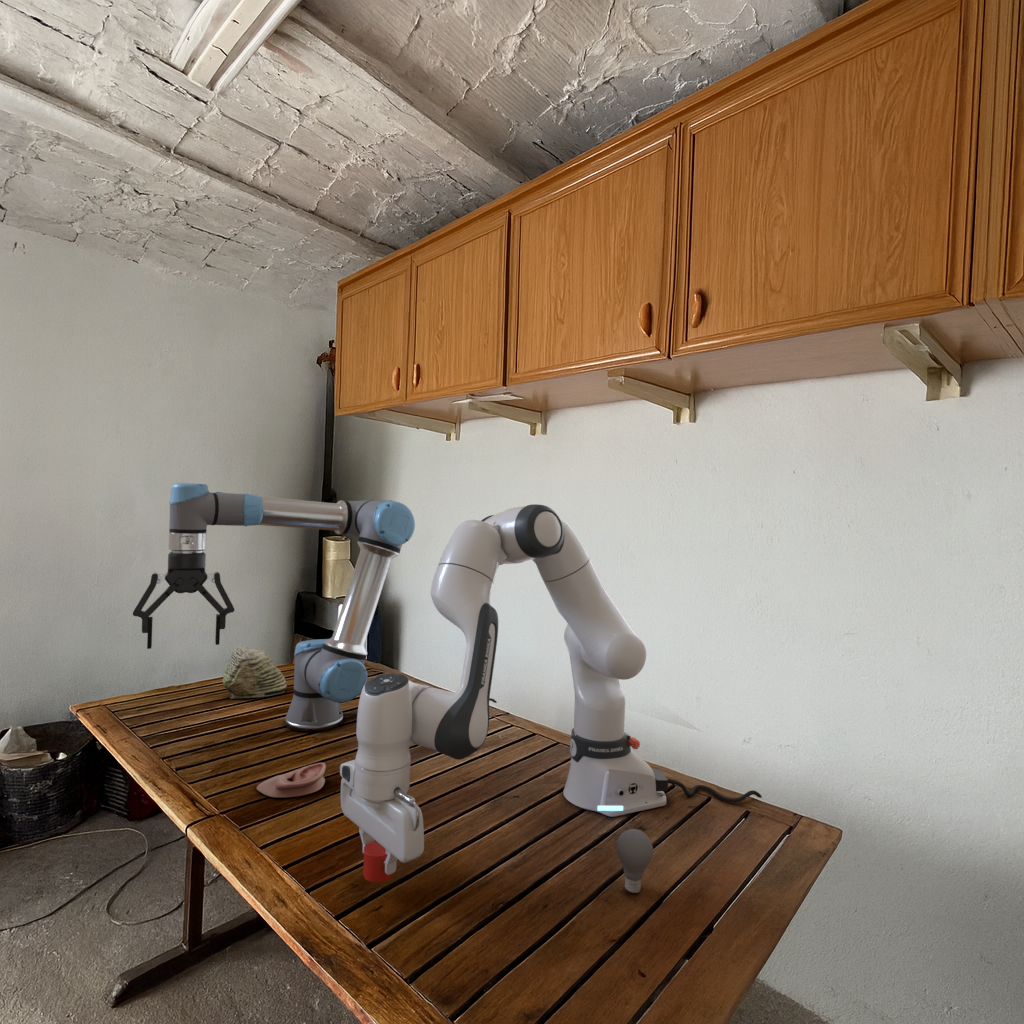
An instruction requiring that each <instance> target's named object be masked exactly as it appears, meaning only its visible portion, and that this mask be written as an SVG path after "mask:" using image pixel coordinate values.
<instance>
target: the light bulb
mask: <svg viewBox="0 0 1024 1024" xmlns="http://www.w3.org/2000/svg"><path fill="white" fill-rule="evenodd" d="M615 849H616V854H617V857H618V859H619V861H620V863H621V865H622V867H623V873H624V874H623V875H624V876H625V878H624V888H625V890H627V891H628V892H630V893H634V894H635V893H639V892H640V891H641V889H642V887H641V886H642V879H643V877H644V875H645V871H646V868H647V867H648V866H649V864H650V863H651V861H652V859H653V855H654V847H653V843H652V841H651V838H649V836H648V835H647V834H646V833H645V832H643V831H642V830H641V829H636V828H629V829H627V830H625V831H623V832H622V833H621V834H620V835H619V837H618V839H617V841H616V847H615Z"/></svg>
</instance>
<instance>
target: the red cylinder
mask: <svg viewBox="0 0 1024 1024" xmlns="http://www.w3.org/2000/svg"><path fill="white" fill-rule="evenodd" d="M387 855H388V854H386V849H385V848H384V847H383V846H381V845H380V844H379V843H378V842H377V841H375V840H374V841H373V842H371V843H369V844H367V845H366V846H365V848H364V854H363V867H362V868H363V871H362V874H363V875H362V876H363V878H364V879H365V881H367V882H369V883H370V882H371V883H382V882H385V881H387V880H389V879H391V878H392V877H393V875H394V873H392V874H389V875H387V874H386V873H385V872H384V871H383V870H382V860H385V859H386V858H387Z"/></svg>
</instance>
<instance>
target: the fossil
mask: <svg viewBox="0 0 1024 1024" xmlns="http://www.w3.org/2000/svg"><path fill="white" fill-rule="evenodd" d="M222 676H223V677H222V685H223V687H224V688H225V690H226V691H228V693H229V698H230V699H250V698H264V697H271V696H275V695H281V694H284V693H285V691H286V689H287V687H288V686H287V680H286V678H285V676H284V674H283V673H282V672H281V669H279V668H278V667H277V665H276V663H275V662H274V660H273V659H272V658H271V657H270V656H269V655H268V654H267V653H266V652H265V650H264V649H263V648H260V647H258V648H251V647H247V646H246V647H245V646H238V647H237V648H236V649H235V650H233V651H232V653H231V656H230V657H229V659H228V660H227V663H226V666H225V668H224V671H223V675H222Z"/></svg>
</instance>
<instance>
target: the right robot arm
mask: <svg viewBox="0 0 1024 1024" xmlns="http://www.w3.org/2000/svg"><path fill="white" fill-rule="evenodd" d="M583 545H584V544H583V543H582V542H581V540H580V538H579V537H578V535H577V534H576V532H575V531H574V530H573V528H572V527H571V525H569V523H568V522H566V521H564V520H563V519H561V518H560V516H559V515H558V513H557V512H556V511H555V510H554V509H552V507H549V506H547V505H544V504H533V503H532V504H527V505H525V506H518V507H512V508H508V509H505V510H504V511H501V512H498V513H496V514H492V515H488V516H486V517H484V518H482V519H481V520H479V519H469V520H465V521H463V522H461V523H459V524H458V525H457V527H456V528H455V530H454V531H453V533H452V535H451V536H450V537H449V540H448V542H447V544H446V546H445V548H444V550H443V552H442V554H441V557H440V560H439V562H438V565H437V568H436V569H435V573H434V575H433V578H432V583H431V586H430V597H431V601H432V603H433V605H434V607H435V608H436V610H437V611H438V613H439V614H440V615H441V617H443V618H445V619H446V620H447V621H449V622H450V623H451V624H452V625H454V626H456V627H457V628H458V629H459V630H461V632H462V633H463V635H464V637H465V642H466V648H465V653H464V661H463V667H462V673H461V678H460V684H459V688H458V690H457V691H455V692H453V691H448V690H444V689H440V688H436V687H433V686H430V685H426V684H421V683H417V682H413V681H411V680H410V679H409V678H408V676H407V675H404V674H402V673H396V672H387V673H381V674H378V675H376V676H373V677H371V678H370V679H367V682H366V683H365V685H364V687H363V689H362V692H361V693H360V696H359V701H358V707H357V712H356V713H357V716H356V730H355V731H356V732H355V733H356V740H357V751H356V755H355V759H352V760H349V761H346V762H343V763H341V764H340V765H339V774H340V777H341V780H340V808H341V812H342V814H343V816H344V817H346V818H348V820H350V821H351V822H352V823H354V825H356V826H357V827H358V832H359V836H360V840H361V843H362V851H361V852H362V854H363V855H364V848H365V846H366V845H367V844H369V843H371V842H373V841H377V842H378V843H379V844H380V845H381V846H383V847H384V848H385V849H386V854H388V855H387V858H386V859H385V860H382V870H383V871H384V872H385V873H386V874H387V875H389V874H392V873H393V874H394V873H395V872H396V871H397V865H398V864H397V862H398V861H400V862H401V863H402V864H407V863H409V862H412V861H415V860H416V859H419V858H420V857H421V856H422V855H423V853H424V851H425V827H424V817H423V812H422V809H421V808H420V807H419V805H417V803H416V799H415V798H414V797H413V796H412V795H409V794H408V791H409V790H410V786H411V763H412V762H411V761H412V756H411V751H410V747H411V746H413V745H416V746H420V747H424V748H427V749H430V750H434V751H436V752H438V753H440V754H442V755H445V756H447V757H449V758H452V759H454V760H456V761H457V760H458V761H460V760H464V759H466V758H468V757H470V756H471V755H473V754H474V753H476V752H477V751H478V750H479V749H481V747H482V746H483V745H484V744H485V742H486V740H487V737H488V734H489V727H490V701H489V698H491V690H492V682H493V675H494V670H495V669H494V668H495V662H496V661H495V660H496V652H497V645H498V637H499V615H498V612H497V610H496V609H495V607H494V606H493V605H492V592H493V586H494V584H495V579H496V575H497V573H498V568H499V566H501V565H514V564H515V565H516V564H521V563H524V562H527V561H531V560H532V561H533V562H534V564H535V566H536V568H537V571H538V573H539V575H540V577H541V579H542V581H543V584H544V586H545V587H546V589H547V592H548V594H549V595H550V598H551V600H552V601H553V604H554V606H555V608H556V611H557V612H558V614H559V615H560V616H562V618H563V619H564V620H565V622H566V626H565V628H564V634H563V640H564V643H565V646H566V648H567V651H568V656H569V663H570V669H571V670H570V671H571V677H572V684H573V692H574V707H573V708H574V709H573V728H572V729H571V734H570V742H569V743H570V745H569V751H570V763H569V769H568V773H567V778H566V782H565V785H564V788H563V791H562V794H563V797H564V799H566V800H567V801H568V802H569V803H571V804H572V805H574V806H576V807H578V808H580V809H584V810H588V811H593V812H597V813H600V814H602V815H604V816H608V817H613V818H614V817H619V816H624V815H627V814H632V813H633V814H634V813H636V812H641V811H647V810H650V809H655V808H660V807H664V806H666V805H667V803H668V802H667V796H666V793H665V792H669V784H672V785H676V786H677V787H680V788H681V790H682V791H683V794H684V795H686V796H687V797H693V796H694V795H695V793H696V792H697V791H698V790H705V791H708V792H709V793H711V794H712V795H714V796H715V797H717V798H718V799H720V800H722V801H724V802H728V803H732V804H733V803H740V802H743V801H745V800H747V798H746V797H748V798H750V797H751V796H752V795H753V796H755V797H757V798H763V796H762V794H760V793H759V791H756V790H749V791H747V792H746V793H744V794H743V795H740V796H738V797H727V796H724V795H723V794H721V793H720V792H718V791H716V789H714V788H712V787H710V786H707V785H704V784H697V785H694V786H693V787H692V789H691V790H690V791H688V789H687V787H686V785H685V784H684V783H682V782H681V781H678V780H677V779H673V778H672V779H671V778H667V777H666V775H665V774H664V773H663V772H662V770H661V769H652V767H651V765H649V764H648V763H647V762H646V761H645V760H644V759H643V758H642V757H640V756H639V755H638V754H637V753H636V752H635V751H634V750H638V749H639V748H640V746H641V742H640V741H639V740H638V739H637V738H636V737H634V736H633V737H632V736H631V734H628V733H627V732H626V731H625V720H626V698H625V697H626V696H625V694H624V692H623V689H622V687H621V684H620V683H621V682H620V680H623V681H625V680H630V679H632V678H634V677H636V676H637V675H639V674H640V672H641V671H642V670H643V668H644V667H645V665H646V660H647V650H646V647H645V644H644V642H643V641H642V639H640V637H639V636H638V635H637V634H636V633H635V632H634V630H633V629H632V628H631V626H630V624H628V622H627V620H626V619H625V617H624V616H623V614H622V613H621V612H620V610H619V608H618V607H617V605H616V604H615V603H614V601H613V600H612V598H611V597H610V595H609V594H608V592H607V591H606V589H605V587H604V585H603V584H602V581H601V579H600V578H599V575H598V573H597V571H596V569H595V567H594V565H593V563H592V561H591V559H590V556H589V554H588V553H587V550H586V549H585V547H584V546H583ZM631 748H632V749H633V750H632V749H631Z"/></svg>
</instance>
